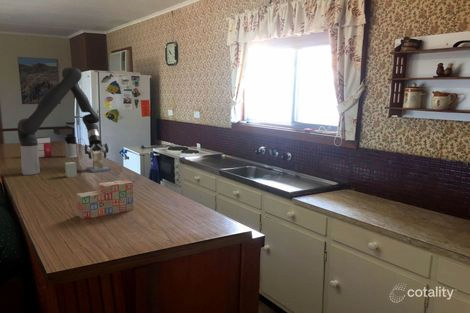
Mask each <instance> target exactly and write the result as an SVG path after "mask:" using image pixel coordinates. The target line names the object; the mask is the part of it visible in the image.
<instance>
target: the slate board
mask: <svg viewBox="0 0 470 313" xmlns="http://www.w3.org/2000/svg"><path fill="white" fill-rule="evenodd" d="M85 169H86V171H88V172H91V173H92V174H96V173H101V172H102V173H103V172H111V170H112V169H111V167H108V166H106V165H104V164H103V168H99V169H95V168H93V166H86V167H85Z"/></svg>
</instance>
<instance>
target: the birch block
mask: <svg viewBox="0 0 470 313" xmlns="http://www.w3.org/2000/svg"><path fill="white" fill-rule="evenodd" d="M91 156H92V167H93V168H95V169H99V168H103V165H104V154H103V152H101V151H93V152H92V153H91Z"/></svg>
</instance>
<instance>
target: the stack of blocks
mask: <svg viewBox="0 0 470 313" xmlns="http://www.w3.org/2000/svg"><path fill="white" fill-rule="evenodd" d="M76 209H77V217H79V218H80V219H82V220H85V219H91V218H96V217H103V216H107V215H112V214H117V213H124V212H127V211H132V210H134V189H133V181H130V180H129V179H123V180H113V181H106V182H100V183H98V190H94V191H86V192H80V193H76Z"/></svg>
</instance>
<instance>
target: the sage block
mask: <svg viewBox="0 0 470 313" xmlns="http://www.w3.org/2000/svg"><path fill="white" fill-rule="evenodd" d="M64 170H65V171H64V172H65V177H67V178H68V177H69V178H75V177H78V171H77V163H76V162H74V161H72V162H71V161H70V162H65V163H64Z"/></svg>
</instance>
